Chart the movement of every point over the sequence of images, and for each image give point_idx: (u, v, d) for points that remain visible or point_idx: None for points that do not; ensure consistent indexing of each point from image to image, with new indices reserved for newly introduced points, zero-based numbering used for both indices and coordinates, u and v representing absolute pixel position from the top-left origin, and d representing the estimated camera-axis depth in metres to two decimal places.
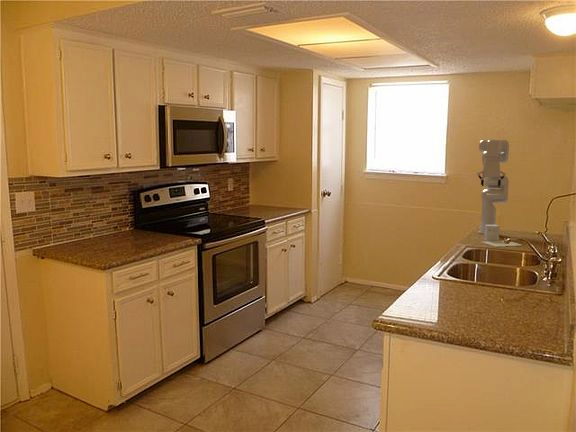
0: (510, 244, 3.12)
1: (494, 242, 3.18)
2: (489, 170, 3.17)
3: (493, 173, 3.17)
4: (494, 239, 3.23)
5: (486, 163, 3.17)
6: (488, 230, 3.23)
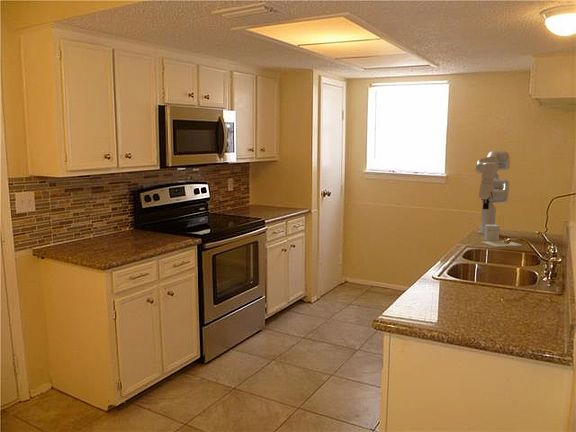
0: (510, 244, 3.12)
1: (494, 242, 3.18)
2: None
3: None
4: (494, 239, 3.23)
5: None
6: (488, 230, 3.23)
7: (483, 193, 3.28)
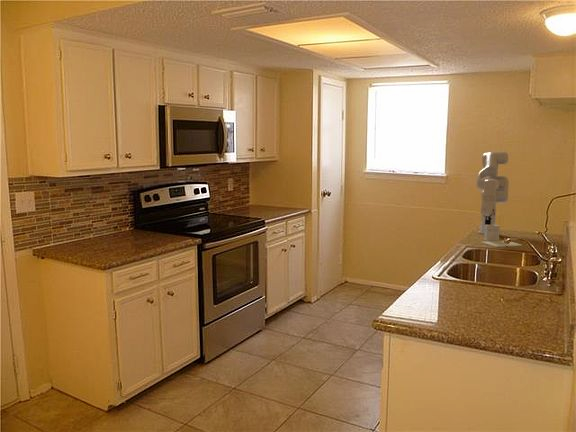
0: (510, 244, 3.12)
1: (494, 242, 3.18)
2: None
3: None
4: (494, 239, 3.23)
5: None
6: (488, 230, 3.23)
7: (485, 210, 3.27)
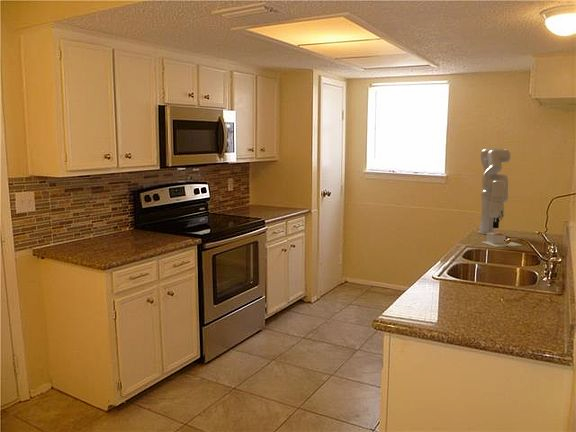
0: (510, 244, 3.12)
1: None
2: None
3: None
4: None
5: None
6: (492, 242, 3.17)
7: (493, 212, 3.19)
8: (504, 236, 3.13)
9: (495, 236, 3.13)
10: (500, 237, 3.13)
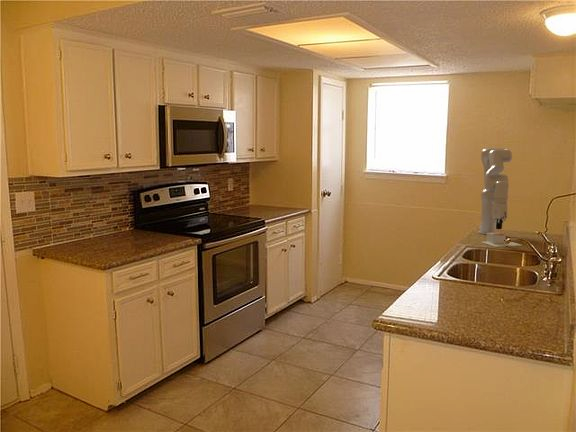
0: (510, 244, 3.12)
1: None
2: None
3: None
4: None
5: None
6: (492, 242, 3.17)
7: (496, 213, 3.16)
8: (504, 236, 3.13)
9: (495, 236, 3.13)
10: (500, 237, 3.13)
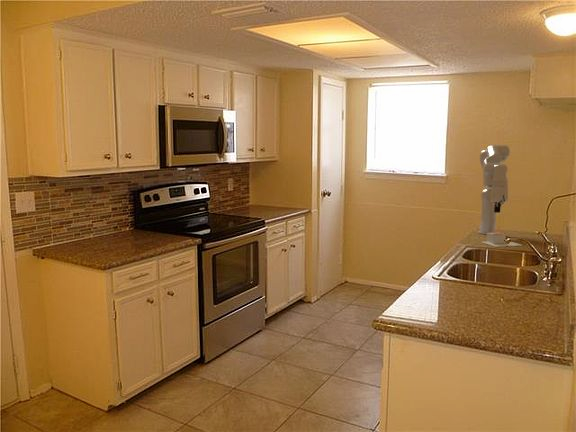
0: (510, 244, 3.12)
1: None
2: None
3: None
4: None
5: None
6: (492, 242, 3.17)
7: (495, 196, 3.17)
8: (504, 236, 3.13)
9: (495, 236, 3.13)
10: (500, 237, 3.13)
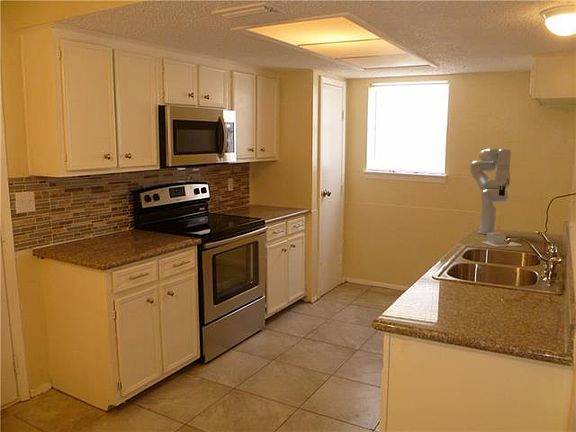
0: (510, 244, 3.12)
1: None
2: None
3: None
4: None
5: None
6: (492, 242, 3.17)
7: (499, 180, 3.27)
8: (504, 236, 3.13)
9: (495, 236, 3.13)
10: (500, 237, 3.13)
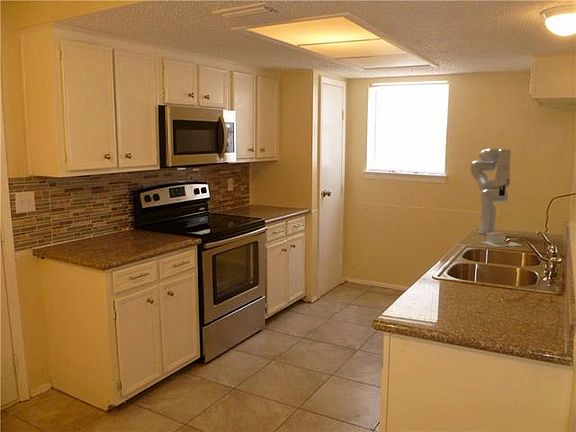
0: (510, 244, 3.12)
1: None
2: None
3: None
4: None
5: None
6: (492, 242, 3.17)
7: (499, 180, 3.27)
8: (504, 236, 3.13)
9: (495, 236, 3.13)
10: (500, 237, 3.13)
